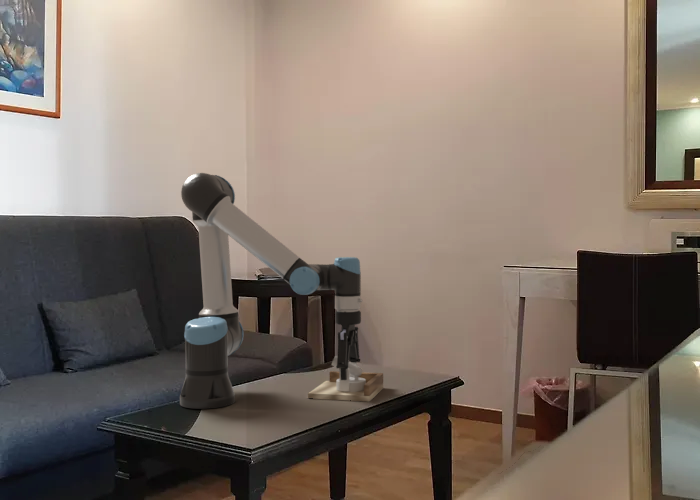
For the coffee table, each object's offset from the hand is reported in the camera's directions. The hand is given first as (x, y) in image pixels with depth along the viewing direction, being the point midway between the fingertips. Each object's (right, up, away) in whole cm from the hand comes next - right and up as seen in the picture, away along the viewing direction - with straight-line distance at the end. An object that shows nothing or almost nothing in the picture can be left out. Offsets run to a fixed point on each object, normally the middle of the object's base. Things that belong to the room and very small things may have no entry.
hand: (348, 387), depth 220 cm
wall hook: (0, 0, 0) cm, 0 cm away
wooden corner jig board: (-1, -2, +1) cm, 2 cm away
